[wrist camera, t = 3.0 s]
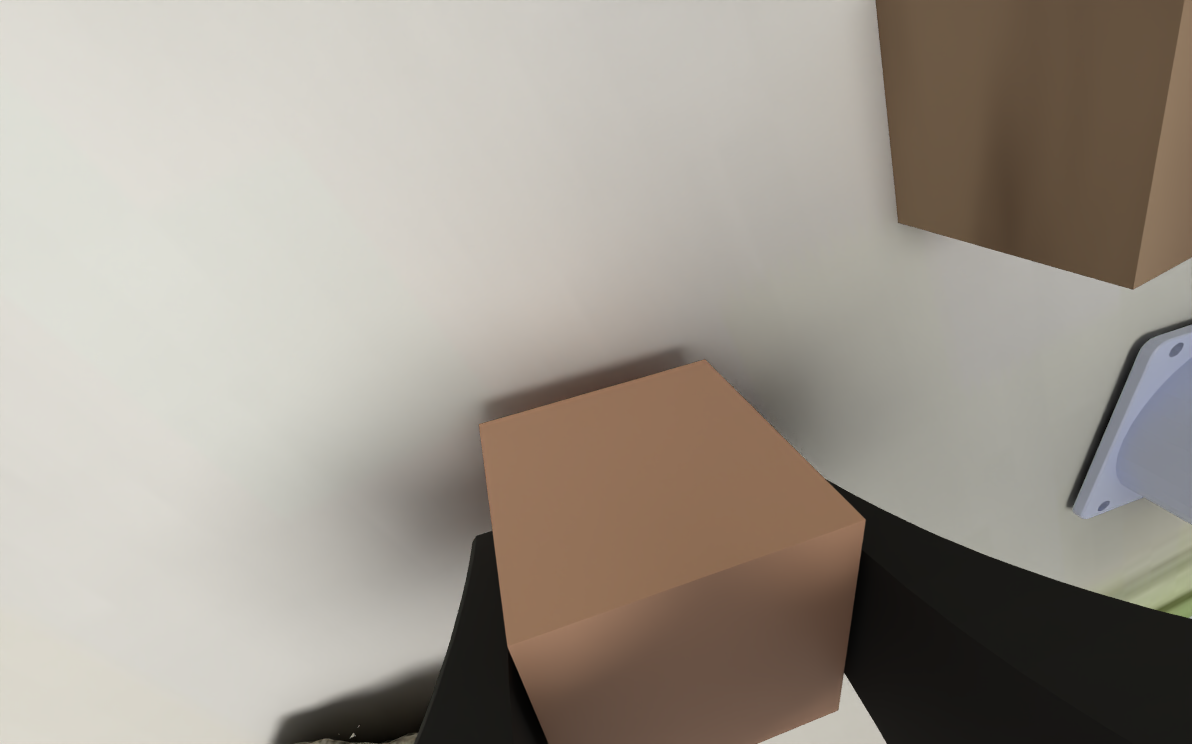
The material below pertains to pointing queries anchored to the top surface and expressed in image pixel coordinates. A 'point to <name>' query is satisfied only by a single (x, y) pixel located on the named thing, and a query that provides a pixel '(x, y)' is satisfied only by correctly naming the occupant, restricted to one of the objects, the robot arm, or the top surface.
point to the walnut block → (1045, 128)
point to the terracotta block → (668, 565)
